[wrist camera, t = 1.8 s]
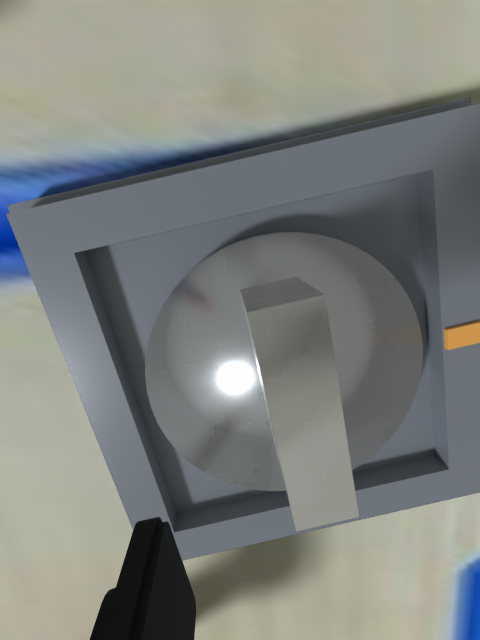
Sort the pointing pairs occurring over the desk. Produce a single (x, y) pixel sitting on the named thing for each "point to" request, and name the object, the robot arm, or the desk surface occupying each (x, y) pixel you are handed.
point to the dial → (285, 368)
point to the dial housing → (255, 219)
